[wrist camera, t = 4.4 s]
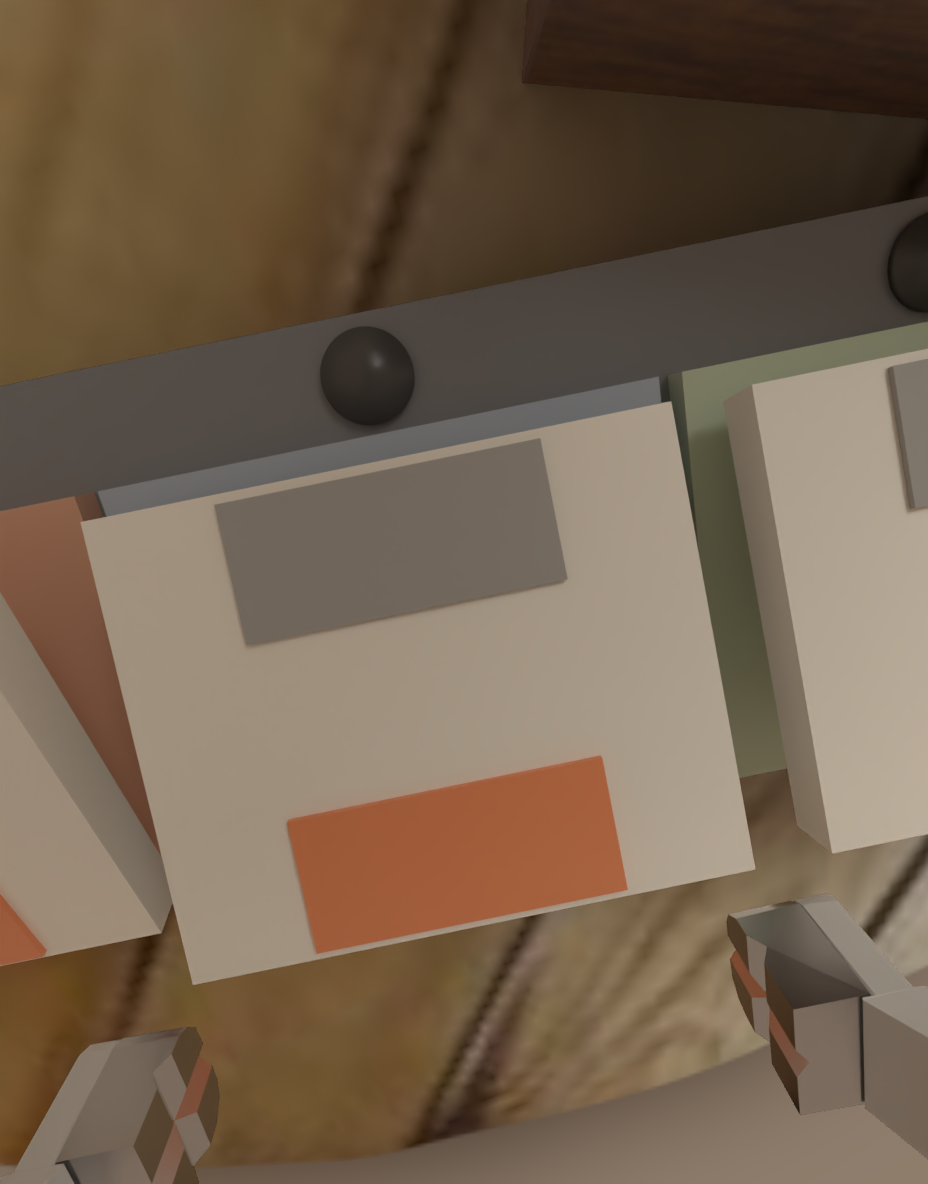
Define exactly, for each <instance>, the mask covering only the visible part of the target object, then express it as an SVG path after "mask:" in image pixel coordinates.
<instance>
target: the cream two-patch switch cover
mask: <svg viewBox="0 0 928 1184" xmlns="http://www.w3.org/2000/svg"><path fill="white" fill-rule="evenodd" d="M723 404H724V410H725V415H726V421H727V427H728V432H729V438H730V444H731V450H732V455H733V461H734V467H735V473H736V478H737V484H738V490H739V495H740V501H741V507H742V513H743V518H744V524H745V530H746V536H747V541H748V547H749V553H750V558H751V564H752V570H753V576H754V581H755V587H756V593H757V599H758V604H759V610H760V616H761V621H762V627H763V633H764V639H765V644H766V650H767V656H768V662H769V667H770V673H771V679H772V684H773V690H774V696H775V702H776V707H777V713H778V719H779V725H780V730H781V736H782V742H783V747H784V753H785V759H786V765H787V770H788V776H789V782H790V788H791V793H792V799H793V805H794V810H795V816H796V822H797V826H798V827H799V828H800V829H802V830H803V831H804V832H805V833H807V834H808V835H809V836H810V837H812V838H813V839H814V840H815V841H817V842H818V843H819V844H820V845H822V846H823V847H824V848H826V849H827V850H828V851H829V852H831V853H832V854H834V853H838V852H843V851H848V850H853V849H858V848H863V847H868V846H873V845H877V844H882V843H887V842H892V841H897V840H902V839H907V838H911V837H916V836H921V835H926V834H928V349H924V350H919V351H914V352H909V353H904V354H900V355H895V356H890V357H885V358H880V359H875V360H870V361H865V362H860V363H856V364H851V365H846V366H841V367H836V368H831V369H826V370H821V371H816V372H812V373H807V374H802V375H797V376H792V377H787V378H782V379H777V380H772V381H768V382H763V383H758V384H753V385H750V386H749V387H747V388H745V389H744V390H742V391H740V392H738V393H737V394H735V395H733V396H731V397H730V398H728V399H726V400H724V401H723Z"/></svg>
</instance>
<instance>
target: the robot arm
mask: <svg viewBox="0 0 928 1184" xmlns="http://www.w3.org/2000/svg"><path fill="white" fill-rule="evenodd" d="M727 933H728V937H729V938H730V940H731V942H732V944H733V945H734V947H735V949H736V950H735V952H734V954H733V955H732V957H731V958H730V963H731V970H732V977H733V981H734V984H735V988H736V991H737V994H738V998H739V1000H740V1002H741V1005H742V1007H743V1009H744V1012H745V1014H746V1016H747V1018H748V1020H749V1022H750V1024H751V1026H752V1028H753V1029H754V1031H755V1033H757V1034H758V1035H760V1036H761V1037H763V1038H764V1039H766V1040H767V1041H768V1042H770V1047H771V1057H772V1065H773V1066H774V1068H775V1070H776V1072H777V1074H778V1076H779V1077H780V1079H781V1081H782V1083H783V1084H784V1087H785V1088H786V1090H787V1092H788V1094H789V1096H790V1098H791V1099H792V1101H793V1103H794V1105H795V1107H796V1109H797V1110H798V1112H799V1114H800V1115H804V1114H809V1113H816V1112H821V1111H827V1110H833V1109H839V1108H845V1107H851V1106H856V1105H862V1104H865V1109H867V1110H868V1111H869V1112H870V1113H872V1114H873V1115H874V1116H875V1117H876V1118H878V1119H879V1120H880V1121H881V1122H883V1123H884V1124H885V1125H886V1126H887V1127H889V1128H890V1129H891V1130H893V1131H894V1132H895V1133H896V1134H897V1135H899V1136H900V1137H901V1138H902V1139H904V1140H905V1141H906V1142H907V1143H908V1144H910V1145H911V1146H912V1147H913V1148H915V1149H916V1150H917V1151H918V1152H919V1153H921V1154H922V1155H923V1156H924V1157H926V1158H927V1159H928V987H926V986H918V987H913V986H912V985H911V984H910V983H909V982H908V981H907V980H906V978H905V977H904V976H903V975H902V974H901V973H900V972H899V970H898V969H897V968H896V967H895V966H894V965H893V964H892V962H891V961H890V960H889V959H888V958H887V957H886V956H885V954H884V953H883V952H882V951H881V950H880V949H879V948H878V946H877V945H876V944H875V943H874V942H873V941H872V940H871V938H870V937H869V936H868V935H867V934H866V933H865V932H864V930H863V929H862V928H861V927H860V926H859V925H858V924H857V922H856V921H855V920H854V919H853V918H852V917H851V916H850V914H849V913H848V912H847V911H846V910H845V909H844V908H843V906H842V905H841V904H840V903H839V902H838V901H837V900H836V898H835V897H833V896H831V895H829V894H828V893H826V894H821V895H816V896H812V897H807V898H802V899H797V900H794V901H787V902H783V903H778V904H773V905H769V906H764V907H760V908H755V909H751V910H746V911H742V912H737V913H732V914H728V918H727ZM202 1045H203V1042H202V1040H201V1038H200V1036H199V1034H198V1032H197V1030H196V1027H184V1028H178V1029H172V1030H167V1031H161V1032H155V1033H150V1034H144V1035H138V1036H133V1037H127V1038H123V1039H119V1040H113V1041H108V1042H102V1043H97V1044H91V1045H90V1046H89V1047H88V1048H86V1049H85V1050H84V1051H83V1052H82V1053H81V1054H80V1055H79V1057H78V1058H77V1060H76V1062H75V1064H74V1065H73V1067H72V1069H71V1071H70V1073H69V1074H68V1076H67V1078H66V1080H65V1081H64V1083H63V1085H62V1087H61V1089H60V1090H59V1092H58V1094H57V1096H56V1097H55V1099H54V1101H53V1103H52V1105H51V1106H50V1108H49V1110H48V1112H47V1113H46V1115H45V1117H44V1119H43V1121H42V1122H41V1124H40V1126H39V1128H38V1130H37V1131H36V1133H35V1135H34V1137H33V1138H32V1140H31V1142H30V1144H29V1146H28V1147H27V1149H26V1151H25V1153H24V1154H23V1156H22V1158H21V1160H20V1162H19V1163H18V1165H17V1167H16V1169H15V1171H14V1172H13V1174H8V1175H4V1176H1V1177H0V1184H199V1181H198V1177H197V1174H196V1171H195V1168H194V1165H195V1164H196V1162H197V1161H198V1160H199V1159H200V1157H201V1156H202V1155H203V1153H204V1152H205V1151H206V1150H207V1148H208V1147H209V1146H210V1145H211V1141H212V1138H213V1134H214V1131H215V1127H216V1124H217V1118H218V1107H219V1096H220V1095H219V1088H218V1081H217V1077H216V1074H215V1072H214V1069H213V1066H212V1065H210V1064H209V1063H207V1062H205V1061H204V1060H202V1059H201V1058H199V1057H198V1056H199V1053H200V1051H201V1048H202Z"/></svg>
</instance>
